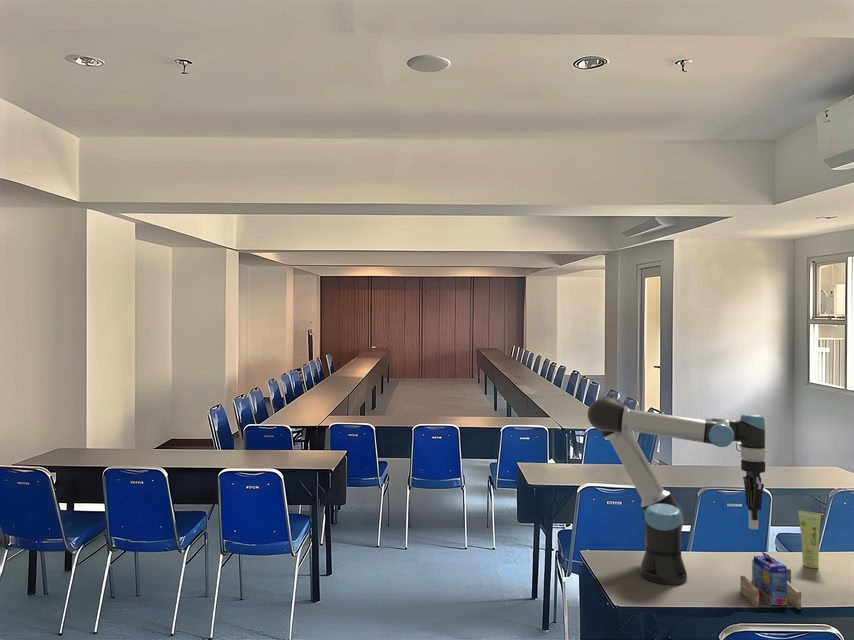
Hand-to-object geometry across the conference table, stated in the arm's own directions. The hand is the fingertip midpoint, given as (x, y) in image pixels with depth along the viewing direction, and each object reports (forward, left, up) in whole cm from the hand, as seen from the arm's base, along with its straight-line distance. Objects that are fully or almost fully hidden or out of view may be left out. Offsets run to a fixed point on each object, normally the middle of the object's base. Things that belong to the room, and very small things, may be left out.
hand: (753, 528), depth 226 cm
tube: (+25, +15, -17) cm, 33 cm away
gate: (+2, -8, -16) cm, 19 cm away
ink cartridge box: (-3, -20, -17) cm, 26 cm away
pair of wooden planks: (-3, -20, -17) cm, 26 cm away
